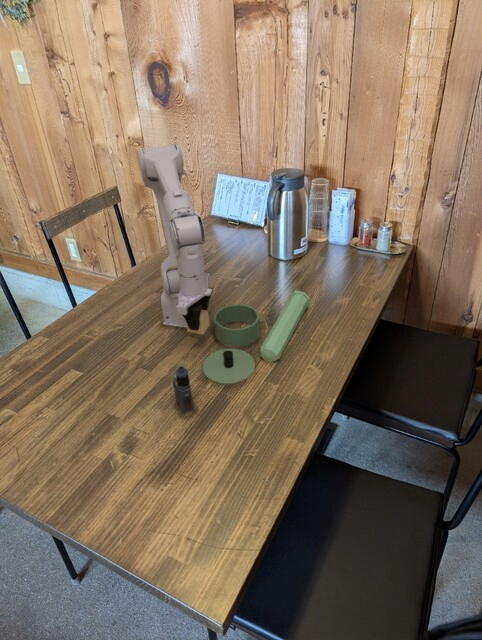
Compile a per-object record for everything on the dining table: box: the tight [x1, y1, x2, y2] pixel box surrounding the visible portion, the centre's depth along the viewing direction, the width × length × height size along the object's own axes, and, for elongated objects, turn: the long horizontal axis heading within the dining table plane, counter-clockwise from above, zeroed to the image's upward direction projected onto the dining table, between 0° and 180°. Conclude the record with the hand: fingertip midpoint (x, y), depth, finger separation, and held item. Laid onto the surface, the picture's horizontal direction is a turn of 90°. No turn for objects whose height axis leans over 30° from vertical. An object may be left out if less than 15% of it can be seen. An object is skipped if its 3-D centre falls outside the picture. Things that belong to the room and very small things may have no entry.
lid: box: [202, 348, 256, 386], centre depth 101 cm, size 12×12×4 cm
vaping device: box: [172, 365, 195, 415], centre depth 90 cm, size 3×5×12 cm, turn 28°
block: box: [186, 310, 210, 335], centre depth 102 cm, size 4×4×4 cm
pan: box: [213, 303, 261, 348], centre depth 112 cm, size 11×11×6 cm
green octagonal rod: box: [260, 290, 311, 363], centre depth 111 cm, size 6×6×25 cm
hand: (197, 323), depth 102 cm, fingers closed on block, 4 cm apart
